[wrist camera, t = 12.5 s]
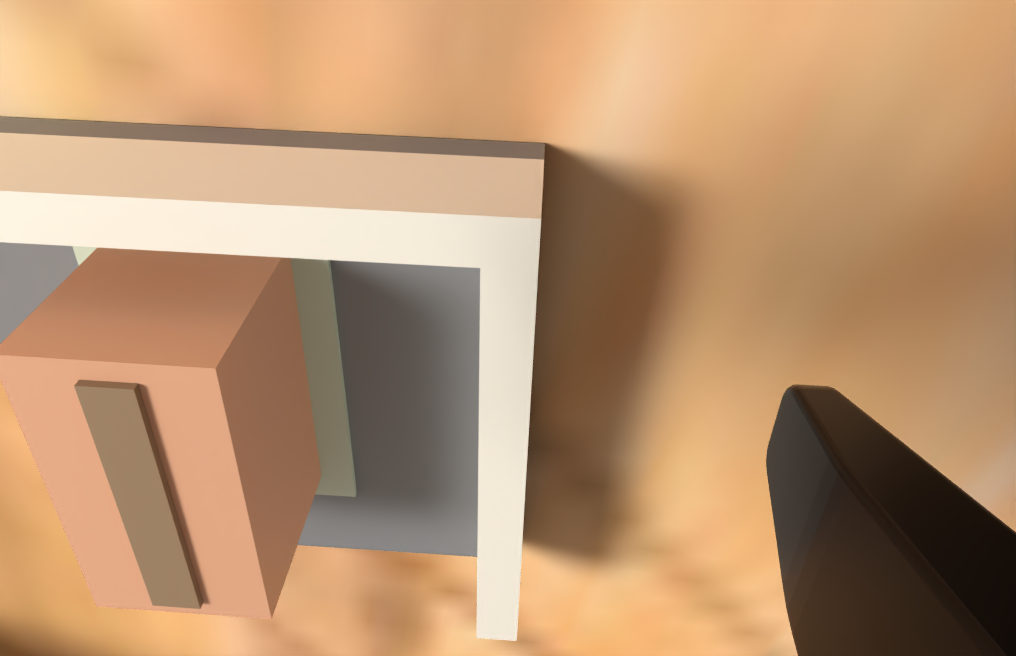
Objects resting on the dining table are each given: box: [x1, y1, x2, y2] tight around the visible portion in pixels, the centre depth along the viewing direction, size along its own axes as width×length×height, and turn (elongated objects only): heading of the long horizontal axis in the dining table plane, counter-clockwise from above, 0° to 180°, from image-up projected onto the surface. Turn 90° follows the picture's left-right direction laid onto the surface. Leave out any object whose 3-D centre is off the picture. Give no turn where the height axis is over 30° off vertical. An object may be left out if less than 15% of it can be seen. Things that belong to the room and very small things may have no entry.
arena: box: [0, 117, 545, 641], centre depth 21 cm, size 15×14×4 cm
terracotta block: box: [0, 247, 321, 619], centre depth 20 cm, size 8×4×5 cm, turn 178°
